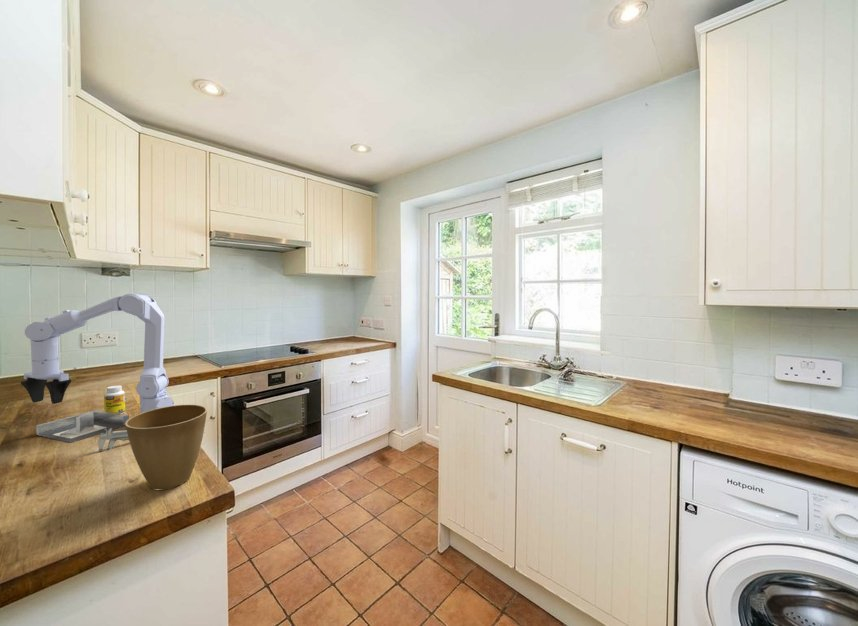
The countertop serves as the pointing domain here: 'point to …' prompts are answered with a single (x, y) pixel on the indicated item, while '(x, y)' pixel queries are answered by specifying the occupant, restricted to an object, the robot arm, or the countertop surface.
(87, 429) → the bracket
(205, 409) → the plant pot
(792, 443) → the countertop surface
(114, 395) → the supplement bottle
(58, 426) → the arena
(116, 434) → the caliper
